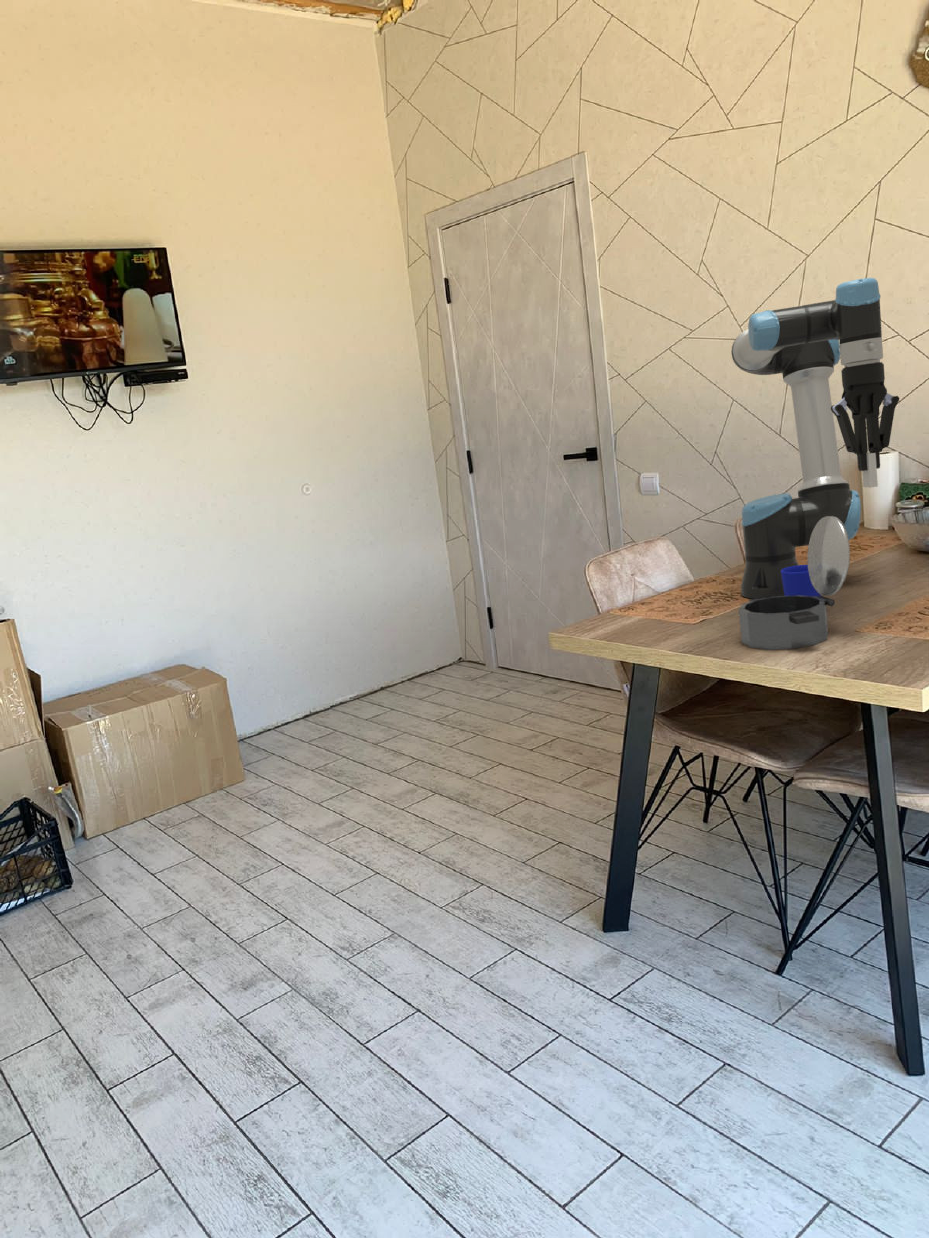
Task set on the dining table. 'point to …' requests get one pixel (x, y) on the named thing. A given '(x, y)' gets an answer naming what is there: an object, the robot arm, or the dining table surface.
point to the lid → (828, 555)
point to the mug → (797, 581)
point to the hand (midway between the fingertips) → (870, 486)
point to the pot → (784, 621)
